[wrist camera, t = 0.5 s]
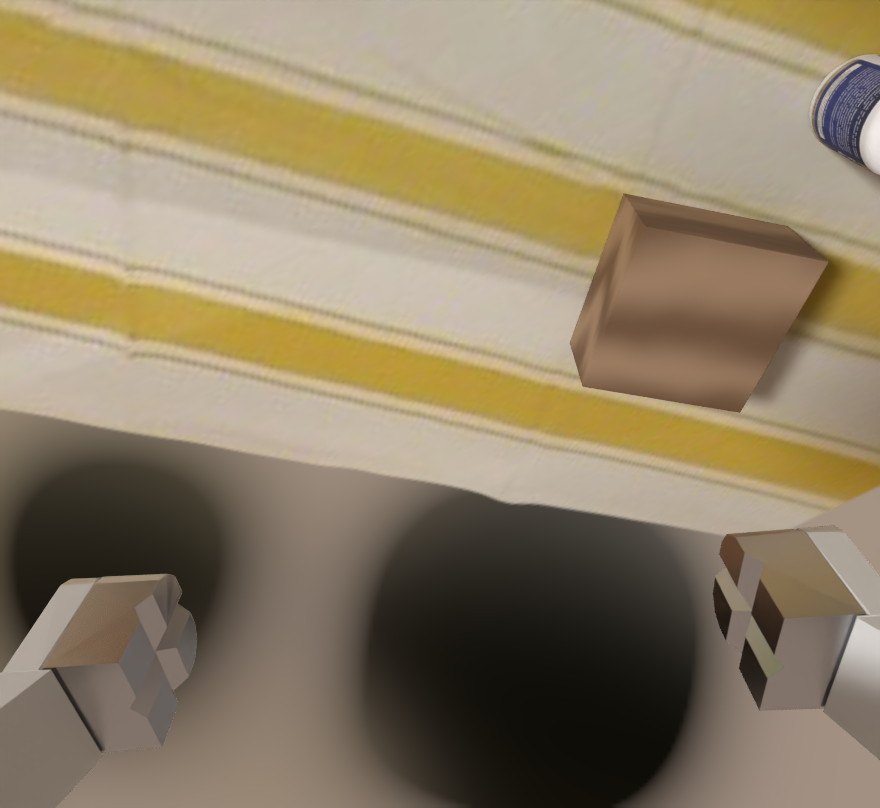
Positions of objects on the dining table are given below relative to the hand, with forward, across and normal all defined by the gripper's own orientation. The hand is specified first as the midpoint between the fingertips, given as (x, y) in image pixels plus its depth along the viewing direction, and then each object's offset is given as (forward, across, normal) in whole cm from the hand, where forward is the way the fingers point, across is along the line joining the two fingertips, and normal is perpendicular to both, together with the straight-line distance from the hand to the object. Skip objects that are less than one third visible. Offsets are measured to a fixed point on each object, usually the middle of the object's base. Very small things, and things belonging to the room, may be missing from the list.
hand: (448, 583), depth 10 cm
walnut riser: (+38, -17, +11) cm, 43 cm away
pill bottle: (+37, -26, -1) cm, 45 cm away
